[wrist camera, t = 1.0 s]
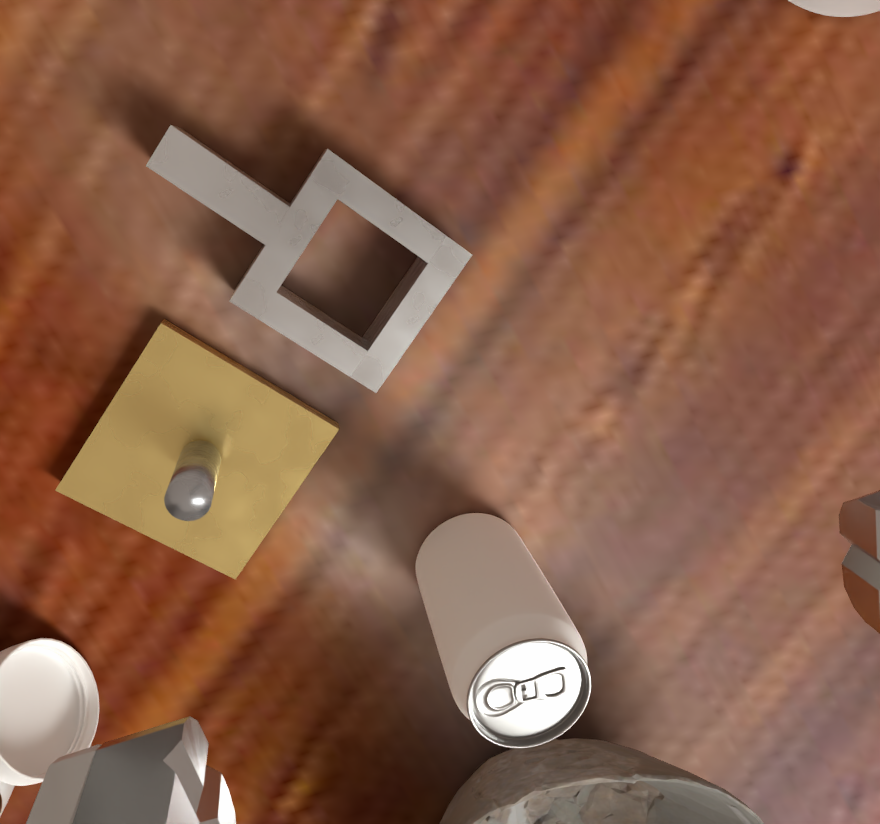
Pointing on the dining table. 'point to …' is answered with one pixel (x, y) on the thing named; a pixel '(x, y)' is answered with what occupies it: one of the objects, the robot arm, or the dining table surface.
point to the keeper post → (198, 452)
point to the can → (501, 633)
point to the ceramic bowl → (589, 789)
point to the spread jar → (42, 710)
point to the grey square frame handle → (290, 234)
